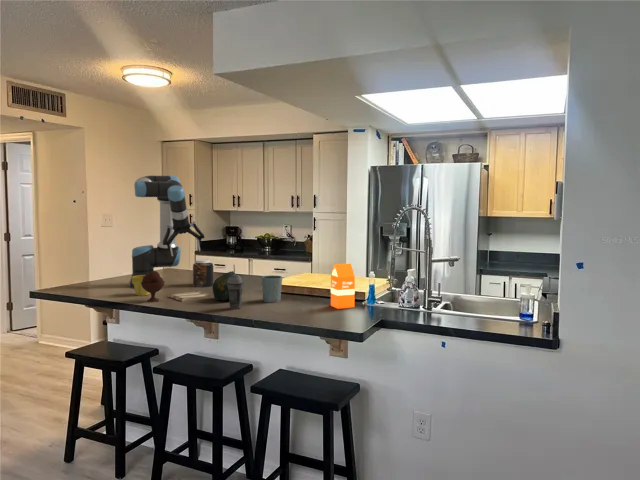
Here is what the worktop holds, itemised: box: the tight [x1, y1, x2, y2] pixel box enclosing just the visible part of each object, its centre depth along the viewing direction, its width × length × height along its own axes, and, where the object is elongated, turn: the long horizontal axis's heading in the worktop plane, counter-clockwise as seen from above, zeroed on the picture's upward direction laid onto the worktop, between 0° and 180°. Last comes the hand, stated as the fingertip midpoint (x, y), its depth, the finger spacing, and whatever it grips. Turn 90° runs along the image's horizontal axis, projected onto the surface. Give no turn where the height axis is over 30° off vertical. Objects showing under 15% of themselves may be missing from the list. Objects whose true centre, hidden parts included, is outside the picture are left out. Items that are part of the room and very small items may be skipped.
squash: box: [212, 270, 243, 302], centre depth 242 cm, size 14×15×15 cm
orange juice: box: [330, 262, 356, 310], centre depth 226 cm, size 8×9×20 cm
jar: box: [192, 258, 215, 288], centre depth 284 cm, size 12×12×15 cm
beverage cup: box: [227, 264, 244, 310], centre depth 222 cm, size 7×7×20 cm
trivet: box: [169, 290, 211, 302], centre depth 248 cm, size 15×15×2 cm
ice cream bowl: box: [141, 270, 165, 303], centre depth 238 cm, size 11×11×15 cm
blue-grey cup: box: [261, 274, 283, 303], centre depth 240 cm, size 10×10×12 cm
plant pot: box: [132, 275, 151, 297], centre depth 255 cm, size 10×10×10 cm
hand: (185, 252), depth 247 cm, fingers open, 13 cm apart
